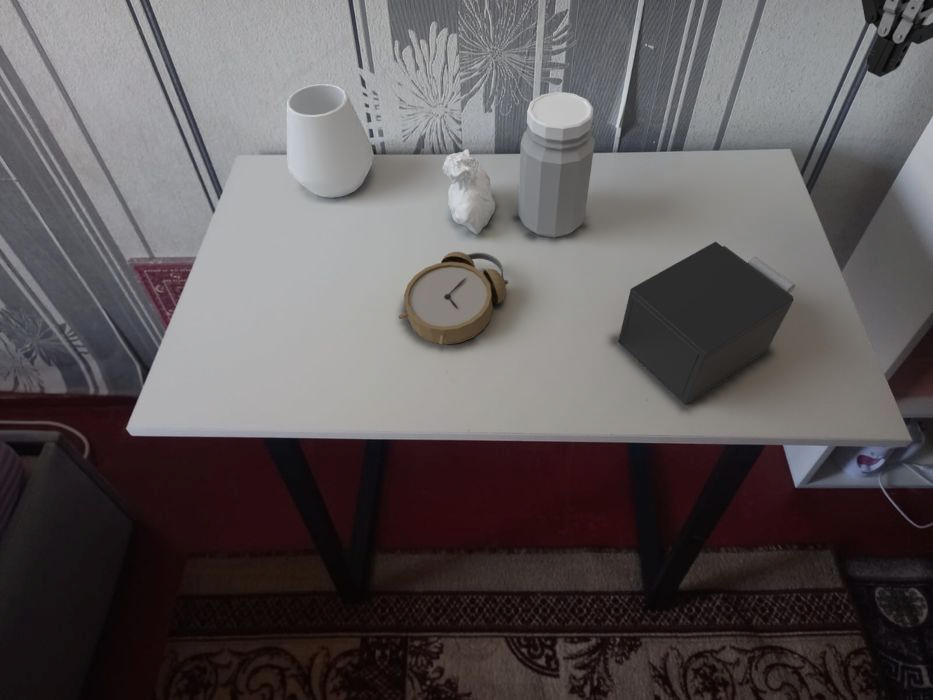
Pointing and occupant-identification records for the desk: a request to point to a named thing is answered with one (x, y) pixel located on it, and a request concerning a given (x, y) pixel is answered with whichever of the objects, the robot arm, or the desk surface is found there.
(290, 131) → the white vase
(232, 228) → the desk surface
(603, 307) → the desk surface
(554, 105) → the jar
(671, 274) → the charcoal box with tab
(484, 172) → the white tied bag
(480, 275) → the alarm clock
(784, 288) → the drawer
